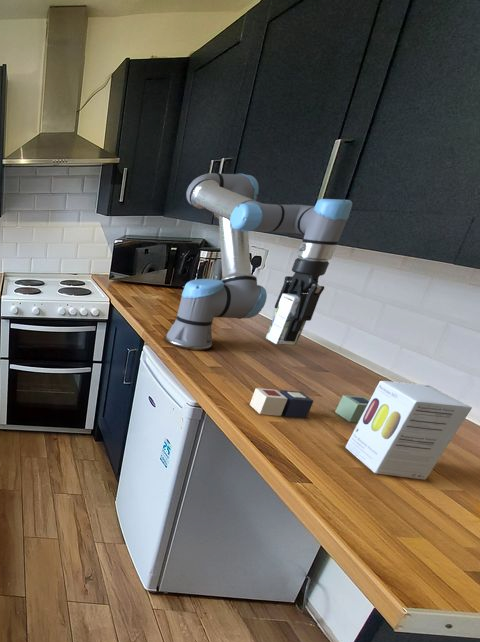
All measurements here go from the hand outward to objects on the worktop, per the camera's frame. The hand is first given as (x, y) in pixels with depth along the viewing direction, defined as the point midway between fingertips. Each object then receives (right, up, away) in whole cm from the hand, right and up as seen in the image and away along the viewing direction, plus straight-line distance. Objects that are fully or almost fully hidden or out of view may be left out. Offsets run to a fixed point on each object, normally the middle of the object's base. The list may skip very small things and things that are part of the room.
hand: (282, 336), depth 121 cm
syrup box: (0, -2, +1) cm, 2 cm away
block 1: (-18, -20, -18) cm, 33 cm away
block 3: (+2, -22, -20) cm, 30 cm away
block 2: (-13, -21, -18) cm, 30 cm away
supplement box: (-8, -30, -37) cm, 48 cm away
